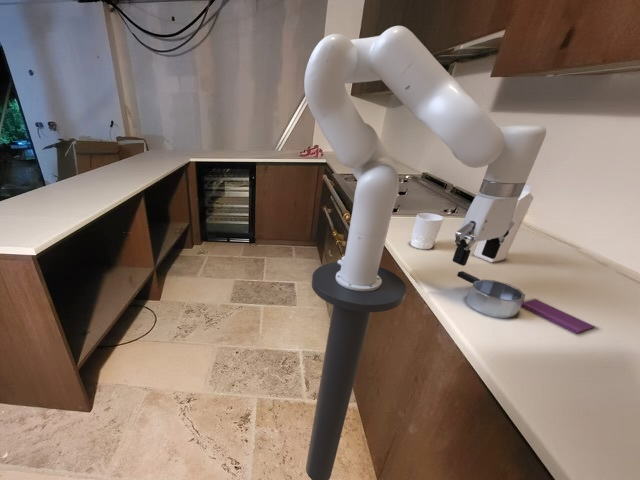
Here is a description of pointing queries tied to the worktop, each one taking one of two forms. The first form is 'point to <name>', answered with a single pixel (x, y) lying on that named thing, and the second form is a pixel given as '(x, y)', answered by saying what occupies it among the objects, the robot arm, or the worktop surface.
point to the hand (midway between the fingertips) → (473, 260)
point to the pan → (493, 297)
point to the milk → (517, 219)
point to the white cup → (426, 230)
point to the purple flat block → (556, 316)
